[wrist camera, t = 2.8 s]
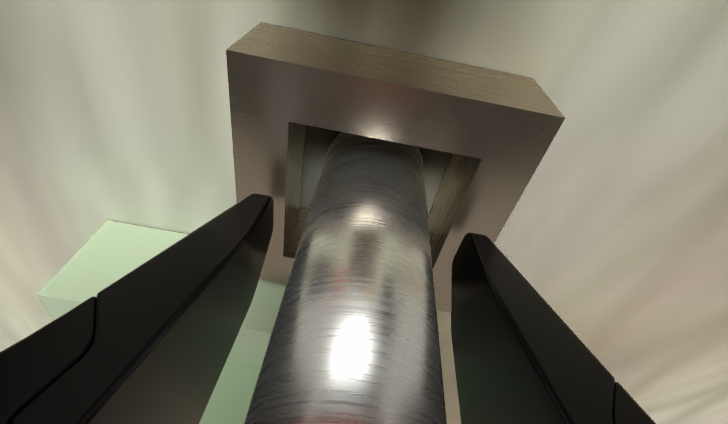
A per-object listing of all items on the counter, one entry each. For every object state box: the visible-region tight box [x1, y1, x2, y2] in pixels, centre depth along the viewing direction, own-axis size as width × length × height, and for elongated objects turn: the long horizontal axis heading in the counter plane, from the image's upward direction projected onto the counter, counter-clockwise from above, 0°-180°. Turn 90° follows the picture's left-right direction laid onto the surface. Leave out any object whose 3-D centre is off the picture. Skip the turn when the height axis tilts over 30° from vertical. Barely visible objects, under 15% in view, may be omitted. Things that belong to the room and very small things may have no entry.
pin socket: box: [226, 23, 565, 312], centre depth 9 cm, size 6×6×2 cm
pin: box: [244, 132, 447, 424], centre depth 7 cm, size 4×4×8 cm
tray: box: [37, 221, 287, 424], centre depth 13 cm, size 10×8×3 cm
